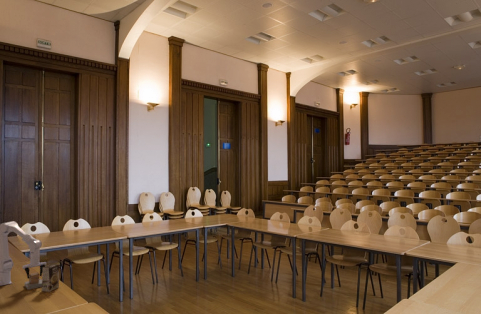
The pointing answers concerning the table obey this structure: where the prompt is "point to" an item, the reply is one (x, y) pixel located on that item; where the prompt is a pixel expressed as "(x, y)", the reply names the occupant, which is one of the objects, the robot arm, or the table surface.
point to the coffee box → (50, 277)
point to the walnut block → (34, 278)
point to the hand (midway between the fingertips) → (34, 277)
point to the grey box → (33, 285)
